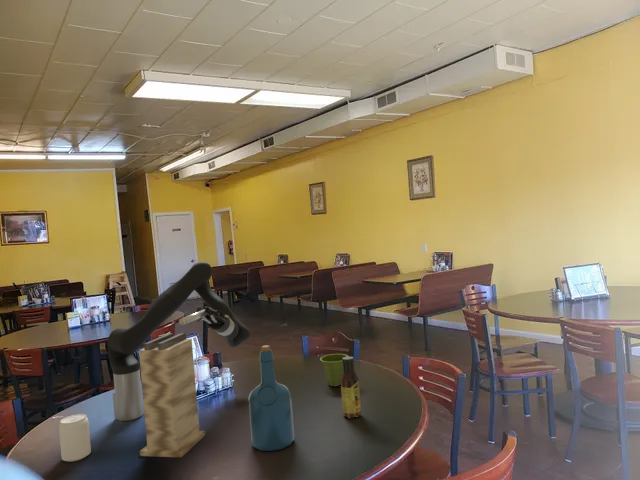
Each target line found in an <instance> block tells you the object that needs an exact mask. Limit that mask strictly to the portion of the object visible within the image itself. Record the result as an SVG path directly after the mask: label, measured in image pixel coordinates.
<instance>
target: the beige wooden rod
mask: <svg viewBox="0 0 640 480" xmlns="http://www.w3.org/2000/svg"><path fill="white" fill-rule="evenodd" d="M210 309H211V308H210ZM211 310H212V309H211ZM204 311H205V308H204V310H201V311H199V312H197V311H196V312H195V313H191V314H189V315H187V316H184V317H181V318H179V319H178V324H179V325H180V326H185V325H186V324H190V323H191V322H194V321H197V319H199V318H202V317H204V316H206V315H208V314H206V313H205V312H204Z"/></svg>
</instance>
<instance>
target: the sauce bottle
mask: <svg viewBox="0 0 640 480" xmlns="http://www.w3.org/2000/svg"><path fill="white" fill-rule="evenodd" d="M342 362H343V371H344V372H343V374H342V376H341V386H340V387H341V388H340V391H341V406H342V412H343V417H344V416H346V417H356V416H359V415H360V414H362V407H361V392H360V381H359V378H358V375H357V373H356V371H355V365H354V364H355V363H354V362H355V358H354V356H349V357H343V358H342ZM360 416H361V415H360ZM360 416H359V417H360ZM346 417H345V418H346Z"/></svg>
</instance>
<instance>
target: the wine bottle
mask: <svg viewBox="0 0 640 480" xmlns="http://www.w3.org/2000/svg"><path fill="white" fill-rule="evenodd" d="M274 362H275V359H274V355H273V349H271V346H270V345H267V344H266V345H262V346H261V350H260V351H259V363H260V376H261V377H260V379H261V382H260V383H259V384H258V385H257V386H256V387H255V388H253V389H252V390H251V391H250V392H249V395H248V410H249V421H250V423H249V425H250V433H251V434H250V435H251V436H250V437H251V442H252V446H253V448H255V449H257V450H259V451H262V452H263V451H265V452H273V451H278V450H279V451H280V450H283V449H285V448H287V447H289V446H290V445H292V443H293V441H294V440H295V428H294V427H295V426H294V414H293V401H292V395H291V392H290V390H289V389H288V387H287V386H286V385H284V384H282V383H279V382H277V380H276V375H275V374H276V372H275V365H274Z"/></svg>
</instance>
